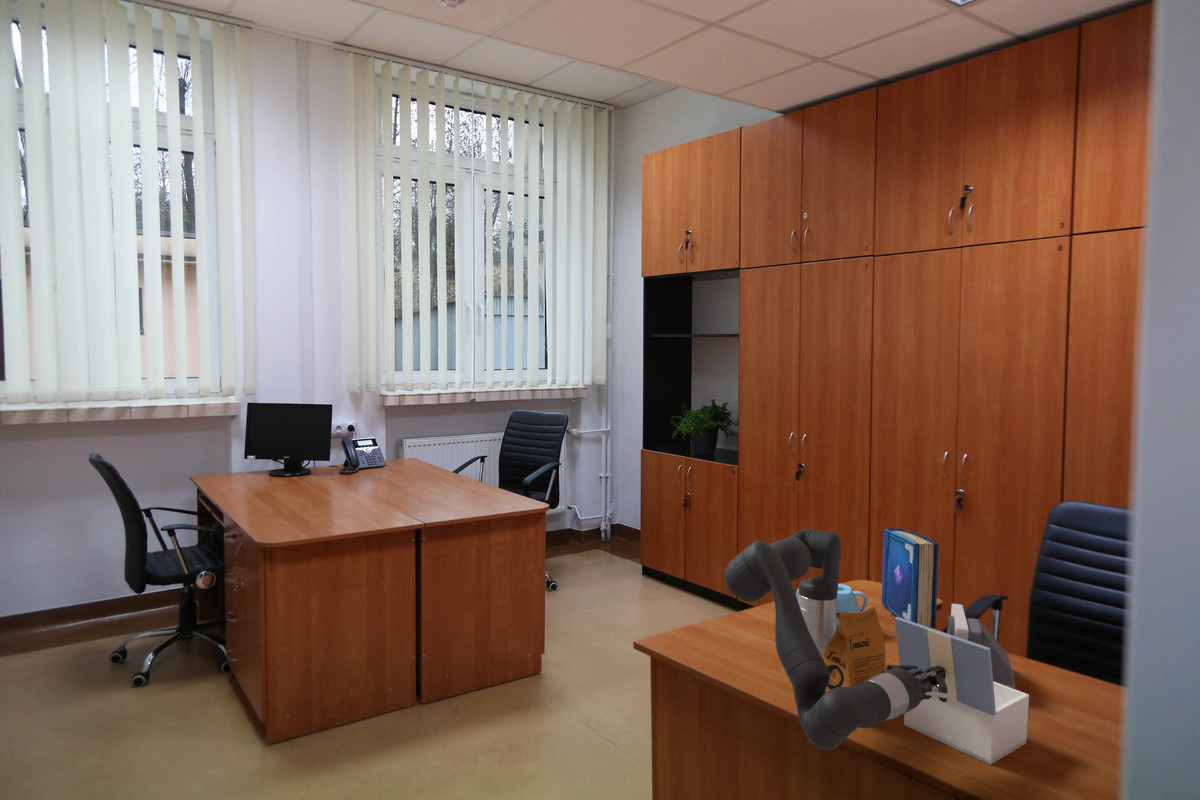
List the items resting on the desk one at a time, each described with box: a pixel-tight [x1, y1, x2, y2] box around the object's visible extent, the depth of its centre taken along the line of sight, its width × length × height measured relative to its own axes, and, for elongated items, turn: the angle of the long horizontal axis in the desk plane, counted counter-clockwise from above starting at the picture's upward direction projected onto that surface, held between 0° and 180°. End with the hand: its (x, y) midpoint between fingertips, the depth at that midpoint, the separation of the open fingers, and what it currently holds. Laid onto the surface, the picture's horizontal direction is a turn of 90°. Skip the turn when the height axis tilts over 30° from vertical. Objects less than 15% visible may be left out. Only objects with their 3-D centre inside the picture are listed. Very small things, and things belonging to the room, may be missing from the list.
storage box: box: [903, 682, 1030, 766], centre depth 153 cm, size 14×18×10 cm
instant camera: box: [946, 603, 1019, 691], centre depth 180 cm, size 21×21×15 cm
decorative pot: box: [795, 582, 869, 628], centre depth 210 cm, size 16×16×14 cm
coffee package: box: [823, 605, 886, 693], centre depth 163 cm, size 10×12×22 cm
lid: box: [894, 617, 996, 716], centre depth 147 cm, size 14×19×1 cm
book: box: [881, 527, 940, 630], centre depth 219 cm, size 22×7×25 cm, turn 5°
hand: (941, 671), depth 147 cm, fingers closed
